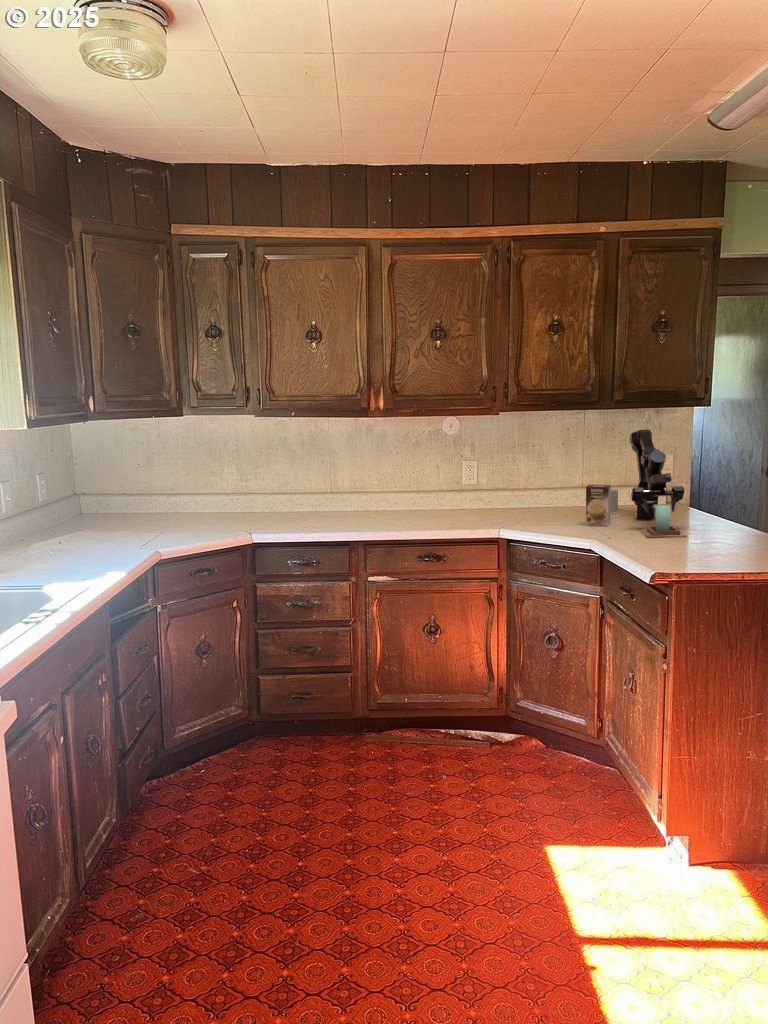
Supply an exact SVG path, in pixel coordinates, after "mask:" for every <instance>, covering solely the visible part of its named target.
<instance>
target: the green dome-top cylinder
mask: <svg viewBox="0 0 768 1024" xmlns="http://www.w3.org/2000/svg"><path fill="white" fill-rule="evenodd" d="M655 508H656V513H655V526H656V531H670V526H671V505H669V504H668V505H667V504H657V505H655Z"/></svg>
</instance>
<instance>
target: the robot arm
mask: <svg viewBox="0 0 768 1024" xmlns="http://www.w3.org/2000/svg"><path fill="white" fill-rule="evenodd" d="M629 444H630V446H631V450H632V451H634V452H635V454H636V455H635V456H636V462H637V463H636V464H637V471H638V472H637V473H638V480H639V483H638V484H637V486H635V487H633V488H632V489H631V490H632V491H631V494H630V495H631V496H630V498H631V501H632V502H633V504H634V505H635V506H636V518H635V520H637V521H653V520H655V519H656V507H655V506H657V505H659V498H660V497H670V509H671V512H672V513H674V512H675V508H676V503H678V502H680V501H681V500H683V498H684V495H685V491H686V490H685V488H684V486H683V485H681V486H680V485H679V486H678V485H676V486H675V485H673V486H672V487H671V490H669V489H668V490H666V488H667V483H670V482H672V474H671V472H665V473H662V472H663V469H664V467H665V464H666V459H667V456H666V454H665V453H664V452H663V451H660V448H656V447H655V445H654V441H653V433H652V432H651V429H639V430H637V431H634V432H631V434H629Z"/></svg>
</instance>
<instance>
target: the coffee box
mask: <svg viewBox="0 0 768 1024" xmlns="http://www.w3.org/2000/svg"><path fill="white" fill-rule="evenodd" d="M611 489H612V488H611V485H610V484H588V485H586V487H585V527H606V526H608V527H609V526H610V525H611V514H610V495H611Z"/></svg>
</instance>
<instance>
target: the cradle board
mask: <svg viewBox="0 0 768 1024" xmlns="http://www.w3.org/2000/svg"><path fill="white" fill-rule="evenodd" d="M645 527H646V529H639V532H640V533H641V532H642V533H643V534H644V535H645V536H644V535H643V534H642V533H641V534H642V535H643V536H644V537H645V538H646V539H655V538H654V537H687V538H688V535H686V534H685V533H684V532H683V531H681V529H679V528H677V527H676V526H674V525H670V531H656V525H655V526H645Z"/></svg>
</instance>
